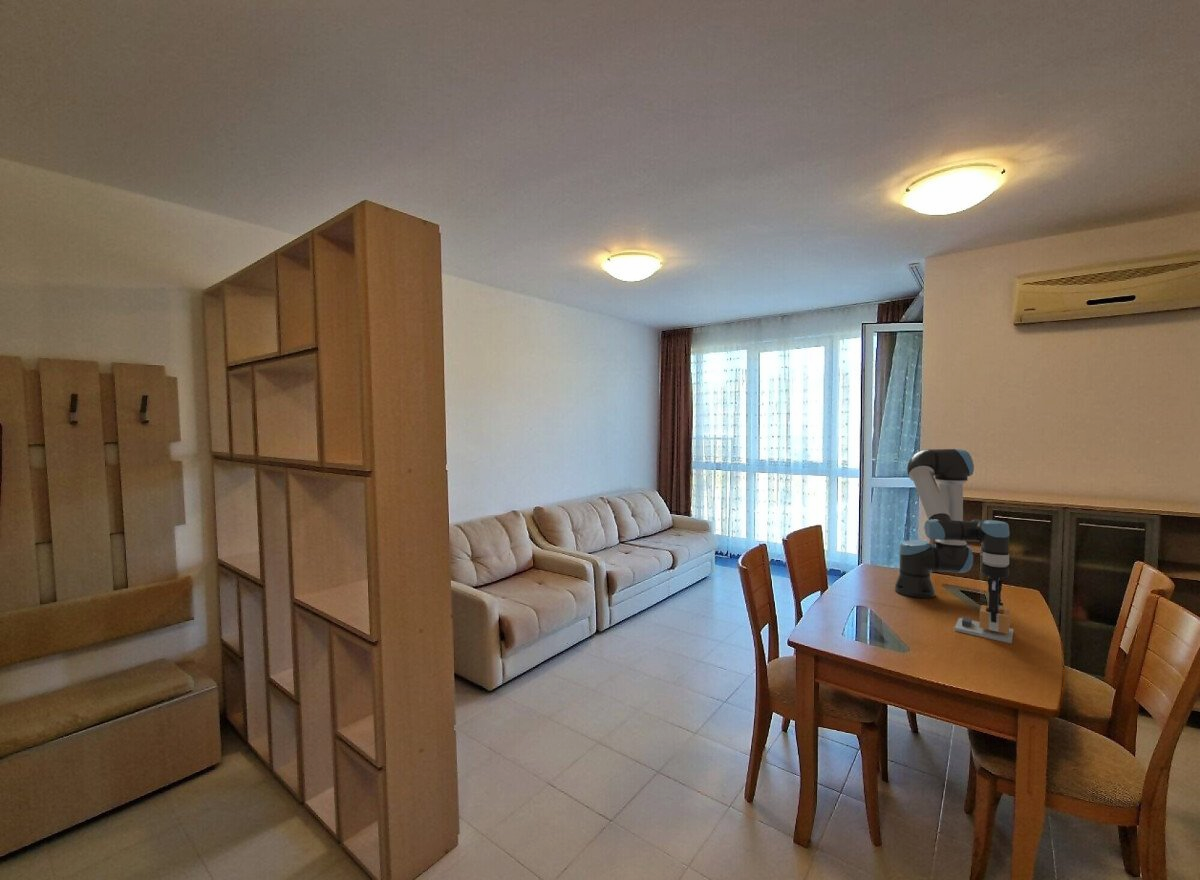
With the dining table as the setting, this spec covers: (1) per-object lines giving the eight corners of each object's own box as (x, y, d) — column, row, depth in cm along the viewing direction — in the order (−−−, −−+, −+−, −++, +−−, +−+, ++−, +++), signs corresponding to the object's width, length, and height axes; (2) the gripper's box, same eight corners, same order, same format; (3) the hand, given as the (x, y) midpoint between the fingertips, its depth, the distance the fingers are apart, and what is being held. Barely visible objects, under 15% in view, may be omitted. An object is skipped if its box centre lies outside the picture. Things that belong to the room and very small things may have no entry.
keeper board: (959, 620, 188) (959, 599, 188) (1013, 632, 177) (1013, 609, 177) (954, 630, 179) (954, 608, 179) (1011, 643, 168) (1011, 620, 168)
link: (981, 620, 181) (981, 605, 181) (1009, 626, 176) (1009, 610, 176) (979, 627, 176) (979, 611, 175) (1008, 633, 170) (1008, 616, 170)
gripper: (984, 556, 185) (984, 615, 186) (979, 568, 170) (978, 633, 171) (1010, 559, 180) (1009, 620, 181) (1007, 573, 165) (1006, 639, 166)
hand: (994, 626), depth 176 cm, fingers closed on link, 8 cm apart
